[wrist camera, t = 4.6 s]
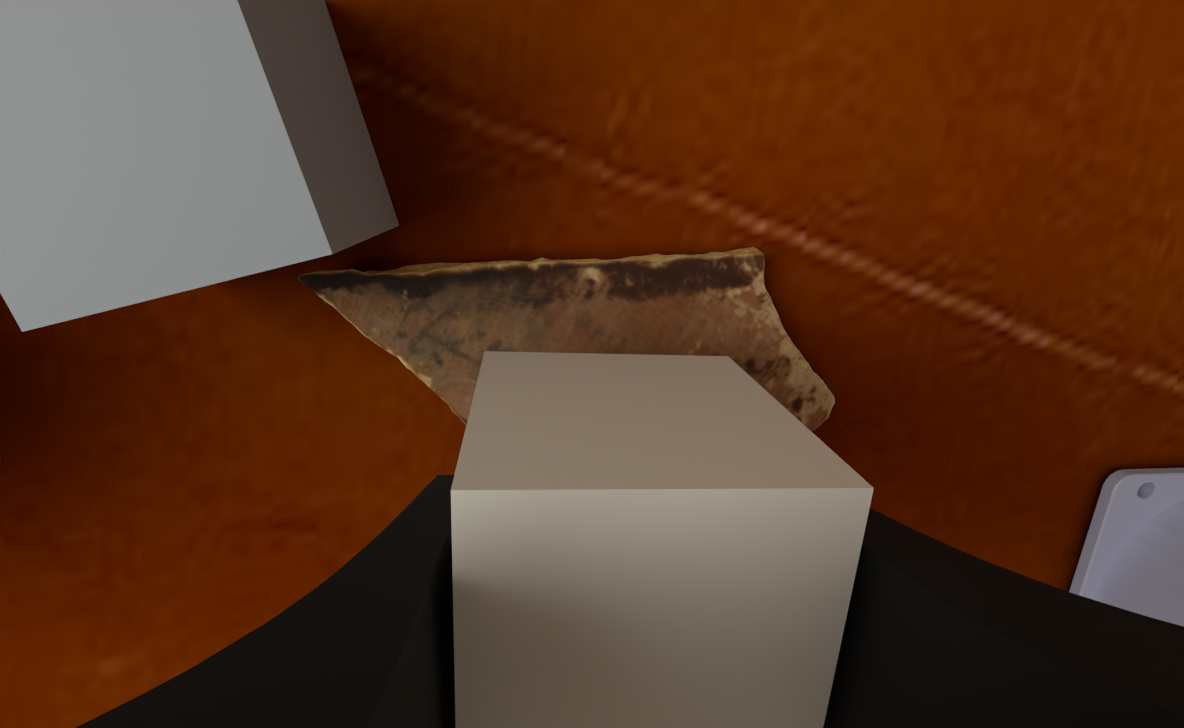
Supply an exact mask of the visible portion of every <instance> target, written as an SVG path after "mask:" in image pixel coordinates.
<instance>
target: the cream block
mask: <svg viewBox="0 0 1184 728" xmlns="http://www.w3.org/2000/svg"><path fill="white" fill-rule="evenodd" d="M873 490H874V488H873V487H872V486H871V485H870V484H869V483H868V482H867V481H865V480H864V479H863V478H862V477H861V476H860V475H859V474H858V473H857V472H855V471H854V470H853V469H852V468H851V467H850V466H849V465H848V464H847V463H846V462H844V461H843V460H842V459H841V458H840V457H839V456H838V455H837V454H836V453H834V452H833V451H832V450H831V449H830V448H829V447H828V446H827V445H826V444H825V443H823V442H822V441H821V440H820V439H819V438H818V437H817V436H816V435H815V434H813V433H812V432H811V431H810V430H809V429H808V428H807V427H806V426H805V425H804V424H802V423H801V422H800V421H799V420H798V419H797V418H796V417H795V416H794V415H792V414H791V413H790V412H789V411H788V410H787V409H786V408H785V407H784V406H783V405H781V404H780V403H779V402H778V401H777V400H776V399H775V398H774V397H773V396H771V395H770V394H769V393H768V392H767V391H766V390H765V389H764V388H763V387H761V386H760V385H759V384H758V383H757V382H756V381H755V380H754V379H753V378H752V377H750V376H749V375H748V374H747V373H746V372H745V371H744V370H743V369H742V368H740V367H739V366H738V365H737V364H736V363H735V362H734V361H733V360H732V359H731V358H729V357H728V356H694V355H645V354H595V353H546V352H497V351H484V355H483V359H482V363H481V368H480V372H479V376H478V380H477V384H476V388H475V392H474V396H473V401H472V405H471V409H470V413H469V417H468V421H467V425H466V429H465V433H464V438H463V442H462V446H461V450H460V454H459V458H458V462H457V466H456V471H455V475H454V479H453V483H452V487H451V529H452V578H453V627H454V676H455V724H456V728H823V726H824V722H825V717H826V712H827V707H828V703H829V698H830V693H831V688H832V684H833V679H834V674H835V669H836V665H837V660H838V655H839V651H840V646H841V641H842V636H843V632H844V627H845V622H846V617H847V613H848V608H849V603H850V598H851V594H852V589H853V584H854V580H855V575H856V570H857V565H858V561H859V556H860V551H861V546H862V542H863V537H864V532H865V527H866V523H867V518H868V513H869V509H870V504H871V499H872V494H873Z"/></svg>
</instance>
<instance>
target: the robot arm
mask: <svg viewBox="0 0 1184 728" xmlns="http://www.w3.org/2000/svg"><path fill="white" fill-rule="evenodd" d="M453 479H454V475H438V476H437V477H436V478H435V479H433V480H432V481H431V482H430V483H429V484H428V485H427V486H426V487H425V488H424V489H423V490H422V491H421V493H420V494H419V495H418V496H417V497H416V498H415V499H414V500H413V501H412V502H411V503H410V504H409V505H408V506H407V507H406V508H405V509H404V510H403V511H402V512H401V513H400V514H399V515H398V516H397V517H396V518H395V519H394V520H393V521H392V522H391V523H390V524H389V525H388V526H387V527H386V528H385V529H384V530H383V531H382V532H381V533H380V534H379V535H378V536H377V537H376V538H375V539H374V540H373V541H372V542H371V543H369V544H368V545H367V546H366V547H365V548H364V549H362V550H361V551H360V552H359V553H358V554H357V555H356V556H354V557H353V558H352V559H351V560H350V561H349V562H347V563H346V564H345V565H344V566H343V567H342V568H341V569H339V570H338V571H337V572H336V573H335V574H333V575H332V576H331V577H329V578H328V579H327V580H326V581H324V582H323V583H322V584H320V585H319V586H318V587H316V588H315V589H314V590H313V591H311V592H310V593H309V594H307V595H306V596H304V597H303V598H301V599H300V600H299V601H297V602H296V603H294V604H293V605H292V606H290V607H289V608H287V609H286V610H284V611H283V612H282V613H280V614H279V615H277V616H276V617H274V618H273V619H271V620H270V621H268V622H267V623H265V624H264V625H262V626H260V627H259V628H257V629H255V630H254V631H252V632H250V633H249V634H247V635H246V636H244V637H242V638H241V639H239V640H237V641H236V642H234V643H232V644H231V645H229V646H227V647H226V648H224V649H222V650H221V651H219V652H217V653H216V654H214V655H212V656H211V657H209V658H208V659H206V660H204V661H203V662H201V663H199V664H198V665H196V666H194V667H192V668H191V669H189V670H187V671H185V672H183V673H182V674H180V675H178V676H176V677H174V678H172V679H170V680H169V681H167V682H165V683H163V684H161V685H159V686H157V687H155V688H154V689H152V690H150V691H148V692H146V693H144V694H142V695H140V696H138V697H136V698H134V699H132V700H130V701H128V702H126V703H124V704H122V705H120V706H118V707H116V708H114V709H112V710H110V711H109V712H107V713H105V714H103V715H101V716H99V717H97V718H95V719H93V720H91V721H88V722H86V723H84V724H82V725H80V726H78V727H76V728H456V724H455V676H454V627H453V578H452V529H451V487H452V483H453ZM823 728H1184V468H1153V469H1123V470H1118V471H1116V472H1114V473H1112V474H1110V475H1109V476H1108V477H1107V478H1106V480H1105V482H1104V484H1103V486H1102V489H1101V493H1100V496H1099V499H1098V502H1097V505H1096V508H1095V511H1094V515H1093V518H1092V521H1091V524H1090V527H1089V530H1088V533H1087V537H1086V540H1085V543H1084V546H1083V549H1082V552H1081V555H1080V559H1079V562H1078V565H1077V568H1076V571H1075V574H1074V578H1073V581H1072V584H1071V587H1070V590H1069V592H1068V591H1065V590H1062V589H1059V588H1056V587H1053V586H1050V585H1047V584H1044V583H1042V582H1039V581H1036V580H1033V579H1031V578H1028V577H1026V576H1023V575H1020V574H1018V573H1015V572H1012V571H1010V570H1007V569H1005V568H1002V567H999V566H997V565H994V564H991V563H989V562H986V561H984V560H981V559H979V558H977V557H974V556H972V555H969V554H967V553H965V552H962V551H960V550H958V549H955V548H953V547H951V546H949V545H946V544H944V543H942V542H940V541H938V540H935V539H933V538H931V537H929V536H927V535H924V534H922V533H920V532H918V531H916V530H914V529H911V528H909V527H907V526H905V525H903V524H901V523H899V522H897V521H895V520H893V519H891V518H889V517H887V516H885V515H883V514H881V513H879V512H877V511H875V510H873V509H871V508H870V509H869V513H868V518H867V523H866V527H865V532H864V537H863V542H862V546H861V551H860V556H859V561H858V565H857V570H856V575H855V580H854V584H853V589H852V594H851V598H850V603H849V608H848V613H847V617H846V622H845V627H844V632H843V636H842V641H841V646H840V651H839V655H838V660H837V665H836V669H835V674H834V679H833V684H832V688H831V693H830V698H829V703H828V707H827V712H826V717H825V722H824V726H823Z"/></svg>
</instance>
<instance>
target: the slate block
mask: <svg viewBox="0 0 1184 728" xmlns="http://www.w3.org/2000/svg"><path fill="white" fill-rule="evenodd" d="M397 226H399V223H398V220H397V217H396V214H395V211H394V208H393V205H392V202H391V199H390V196H389V193H388V190H387V187H386V184H385V181H384V178H383V175H382V172H381V169H380V166H379V163H378V160H377V157H376V154H375V151H374V148H373V145H372V142H371V139H370V136H369V133H368V130H367V127H366V124H365V121H364V118H363V115H362V112H361V109H360V106H359V103H358V100H357V97H356V94H355V91H354V88H353V85H352V82H351V79H350V76H349V73H348V70H347V67H346V64H345V61H344V58H343V55H342V52H341V49H340V46H339V43H338V40H337V37H336V34H335V31H334V28H333V25H332V22H331V19H330V16H329V13H328V10H327V7H326V4H325V1H324V0H0V293H1V295H2V297H3V299H4V300H5V302H6V304H7V306H8V308H9V309H10V311H11V313H12V315H13V316H14V318H15V320H16V322H17V323H18V325H19V327H20V329H21V331H22V332H24V331H28V330H32V329H36V328H40V327H44V326H48V325H52V324H56V323H60V322H64V321H68V320H72V319H76V318H80V317H84V316H88V315H92V314H96V313H100V312H104V311H108V310H112V309H116V308H120V307H124V306H128V305H132V304H136V303H140V302H144V301H148V300H152V299H156V298H160V297H164V296H168V295H172V294H176V293H180V292H184V291H188V290H192V289H196V288H200V287H204V286H208V285H212V284H216V283H220V282H224V281H228V280H231V279H235V278H239V277H243V276H247V275H251V274H255V273H259V272H263V271H267V270H271V269H275V268H279V267H283V266H287V265H291V264H295V263H299V262H303V261H307V260H311V259H315V258H319V257H323V256H327V255H331V254H334V253H336V252H339V251H341V250H343V249H346V248H348V247H351V246H353V245H355V244H358V243H360V242H362V241H365V240H367V239H369V238H372V237H374V236H376V235H379V234H381V233H383V232H386V231H388V230H390V229H393V228H395V227H397Z"/></svg>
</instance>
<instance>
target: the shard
mask: <svg viewBox="0 0 1184 728" xmlns="http://www.w3.org/2000/svg"><path fill="white" fill-rule="evenodd" d="M764 269H765V261H764V253H762V252H761V251H760V250H758V249H757V248H755V247H751V248H744V249H736V250H731V251H726V252H709V253H706V254H697V255H684V254H676V255H661V254H652V255H644V256H630V257H626V258H621V259H611V260H601V259H577V260H549V259H546V258H543V257H542V258H539V259H536V260H532V261H513V260H505V261H492V262H471V263H457V262H456V263H443V262H436V263H430V264H419V265H407V266H404V267H401V268H398V269H395V270H388V271H365V272H361V271H358V270H354V269H348V270H334V271H316V272H311V273H305V274H300V275H299V280H300V281H301V282H302V283H303V284H304V285H305V286H307V287H309V288H311V289H312V290H313V291H314V292H315V293H316V294H317V295H318V296H319V297H320V298H322V299H323V300H324V301H325V302H327V303H328V304H330V305H331V306H333V307H334V308H335V309H336V310H337V311H339V312H340V313H341V315H342V316H343V317H344V318H345V319H346V320H347V321H349V322H351V323H352V324H353V325H354V326H355V327H356V328H357V329H358V330H359V331H360V332H361V333H362V334H363V335H364V336H365V337H367V338H369V339H370V340H371V341H373V342H374V343H376V344H377V345H379V346H380V347H382V348H383V349H384V350H386V351H387V352H389V353H390V354H392V355H394V356H396V357H397V358H399V360H400V361H401V362H402V363H403V364H404V365H405V366H406V368H408V369H409V370H411V371H412V372H413V373H414V374H415V375H416V376H417V377H418V378H419V379H420V380H422V381H423V382H424V383H425V384H426V385H427V386H428V387H429V388H431V389H432V390H433V391H434V392H435V393H436V394H437V395H438V396H439V397H440V398H441V399H442V400H443V401H444V402H446V403H447V404H448V405H449V407H450V408H451V410H452V411H453V412H454V413H455V414H456V415H457V416H458V417H459V418H460V419H461V421H462V422H463V423H464V424H465V425H467V421H468V417H469V413H470V409H471V405H472V401H473V396H474V392H475V388H476V384H477V380H478V376H479V372H480V368H481V363H482V359H483V355H484V351H497V352H546V353H595V354H645V355H694V356H728V357H729V358H731V359H732V360H733V361H734V362H735V363H736V364H737V365H738V366H739V367H740V368H742V369H743V370H744V371H745V372H746V373H747V374H748V375H749V376H750V377H752V378H753V379H754V380H755V381H756V382H757V383H758V384H759V385H760V386H761V387H763V388H764V389H765V390H766V391H767V392H768V393H769V394H770V395H771V396H773V397H774V398H775V399H776V400H777V401H778V402H779V403H780V404H781V405H783V406H784V407H785V408H786V409H787V410H788V411H789V412H790V413H791V414H792V415H794V416H795V417H796V418H797V419H798V420H799V421H800V422H801V423H802V424H804V425H805V426H806V427H807V428H808V429H809V430H810V431H811V432H813V431H814V430H815V429H816V428H818V427H819V426H820V425H821V424H822V423H823V422H824V421H825V420H826V419H828V417H829V414H830V412H831V409H832V407H833V405H834V404H835V397H834V396H833V394H832V393H831V391H830V390H829V389H828V388H827V386H826V385H825V383H824V382H823V380H822V379H821V378H820V377H819V376H818V375H817V374H816V373H814V372H813V371H812V369H811V367H810V365H809V363H808V362H807V361H806V360H805V359H804V357H803V356H802V354H801V353H800V351H799V350H798V349H797V348H796V346H795V345H794V344H793V342H792V341H791V339H790V337H789V336H788V334H787V333H786V331H785V330H784V328H783V326H782V323H781V321H780V318H779V315H778V313H777V311H776V309H775V307H774V305H773V303H772V300H771V297H770V295H769V294H768V292H767V290H766V288H765V285H764Z"/></svg>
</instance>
